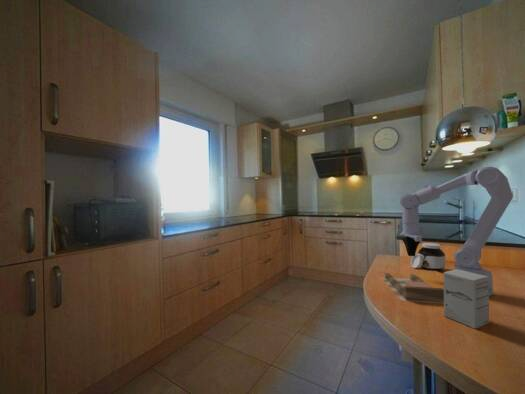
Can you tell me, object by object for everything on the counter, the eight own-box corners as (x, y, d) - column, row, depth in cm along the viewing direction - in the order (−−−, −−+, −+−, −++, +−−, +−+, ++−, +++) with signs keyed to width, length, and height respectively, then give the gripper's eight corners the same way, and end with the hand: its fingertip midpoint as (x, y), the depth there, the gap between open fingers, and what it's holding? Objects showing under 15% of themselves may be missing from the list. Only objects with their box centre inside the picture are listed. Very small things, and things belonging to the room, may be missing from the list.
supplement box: (442, 316, 65) (442, 271, 65) (458, 311, 68) (457, 268, 68) (475, 330, 58) (474, 280, 58) (490, 323, 61) (489, 275, 61)
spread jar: (448, 271, 104) (448, 245, 104) (432, 274, 100) (432, 247, 100) (422, 264, 115) (421, 241, 115) (406, 267, 111) (406, 243, 111)
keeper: (405, 292, 80) (405, 281, 80) (424, 293, 78) (424, 282, 78) (411, 298, 75) (411, 286, 75) (432, 300, 74) (432, 287, 74)
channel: (380, 278, 95) (380, 267, 95) (418, 280, 92) (418, 269, 92) (401, 302, 74) (401, 288, 74) (451, 306, 71) (451, 291, 71)
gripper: (393, 221, 103) (394, 251, 103) (407, 225, 89) (407, 259, 89) (411, 221, 102) (411, 252, 102) (427, 225, 88) (428, 260, 88)
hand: (411, 255), depth 95 cm, fingers closed
